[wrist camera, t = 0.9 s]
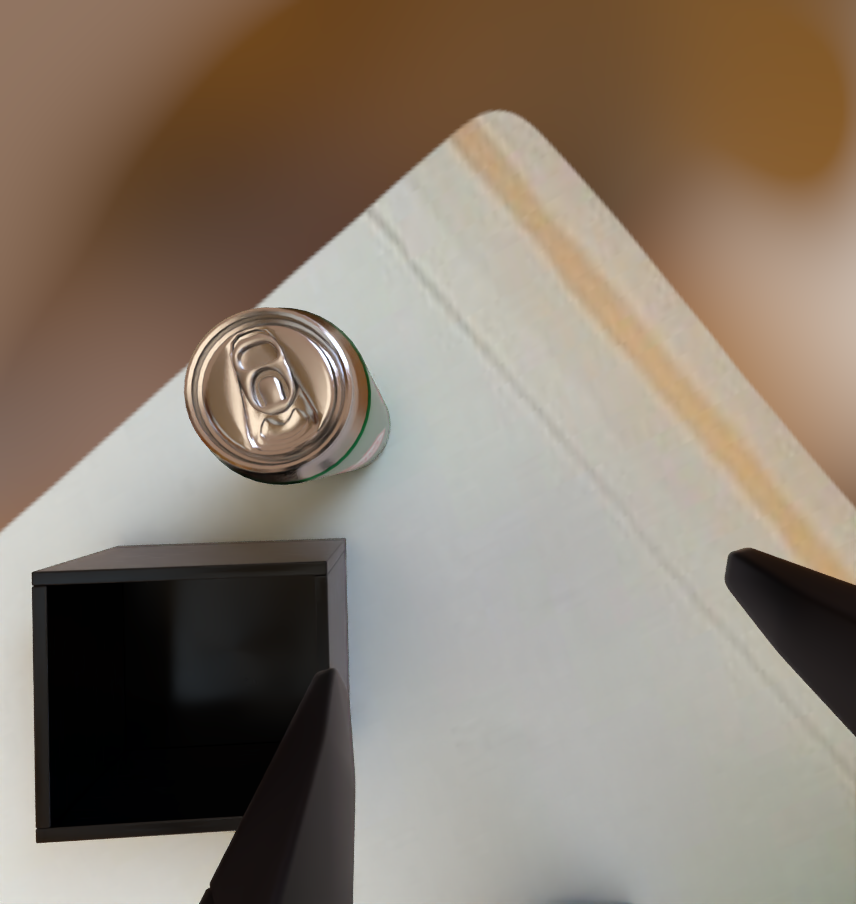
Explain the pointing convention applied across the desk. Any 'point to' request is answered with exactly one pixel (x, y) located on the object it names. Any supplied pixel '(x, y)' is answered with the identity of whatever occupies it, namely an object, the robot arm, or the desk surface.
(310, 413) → the soda can
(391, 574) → the desk surface
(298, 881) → the robot arm
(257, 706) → the open black square box
